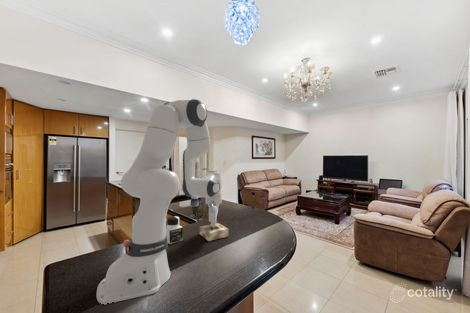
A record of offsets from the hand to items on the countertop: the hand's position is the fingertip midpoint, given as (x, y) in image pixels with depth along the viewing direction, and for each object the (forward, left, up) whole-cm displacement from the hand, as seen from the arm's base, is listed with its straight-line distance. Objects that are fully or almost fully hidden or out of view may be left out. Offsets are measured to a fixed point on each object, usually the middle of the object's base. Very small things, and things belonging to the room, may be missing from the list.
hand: (213, 224), depth 110 cm
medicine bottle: (-21, +5, -6) cm, 22 cm away
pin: (0, 0, -4) cm, 4 cm away
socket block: (0, 0, -6) cm, 6 cm away
